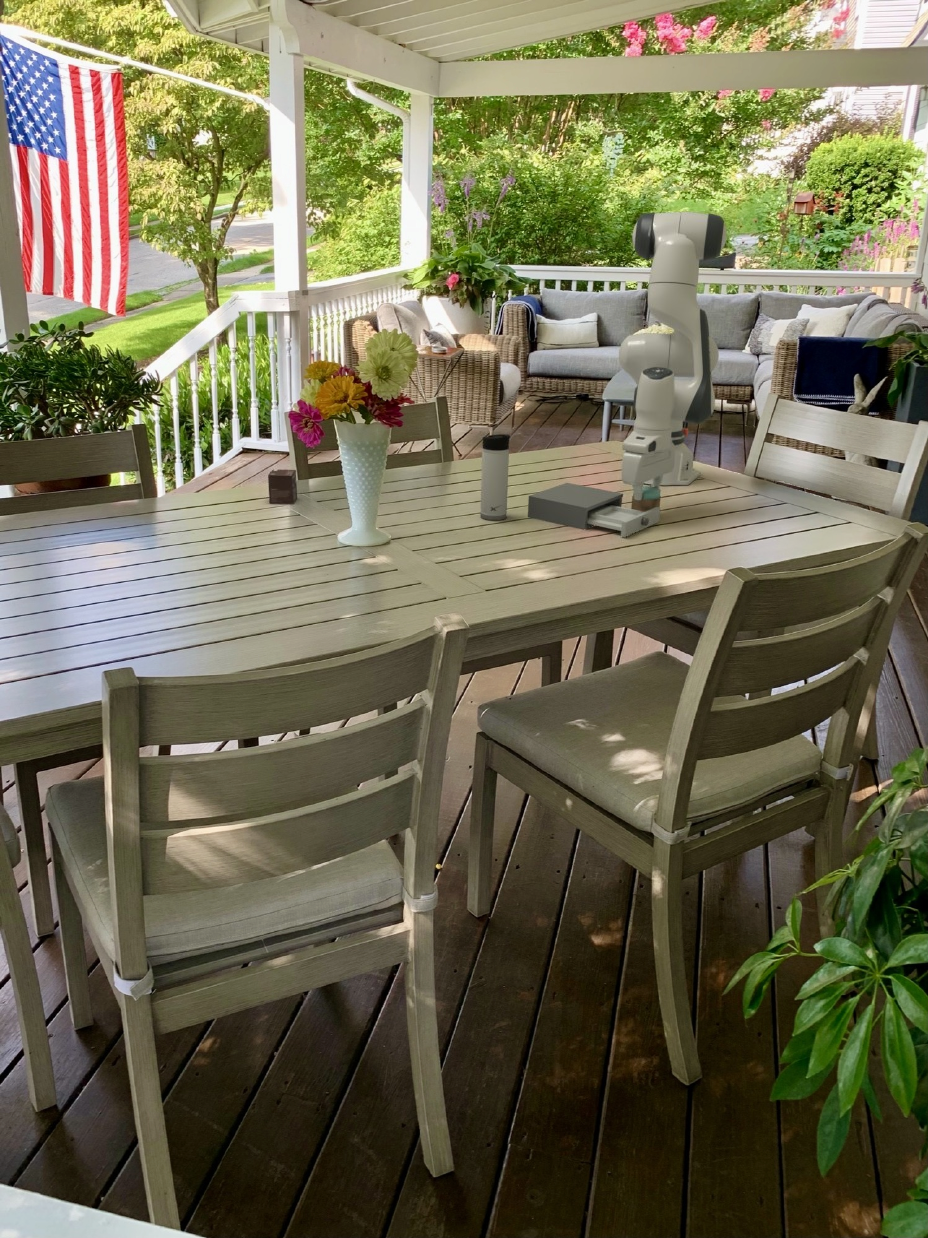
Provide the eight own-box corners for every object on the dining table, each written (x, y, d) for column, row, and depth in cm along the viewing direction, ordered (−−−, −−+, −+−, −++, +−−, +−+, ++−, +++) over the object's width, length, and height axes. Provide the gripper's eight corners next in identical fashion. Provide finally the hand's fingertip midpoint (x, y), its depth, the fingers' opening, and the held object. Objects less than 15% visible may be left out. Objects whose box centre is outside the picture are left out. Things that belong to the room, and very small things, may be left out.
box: (293, 504, 250) (292, 475, 247) (268, 504, 250) (267, 474, 247) (297, 498, 255) (296, 469, 253) (273, 497, 255) (272, 468, 253)
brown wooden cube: (640, 512, 249) (642, 492, 248) (658, 515, 247) (660, 495, 245) (630, 516, 246) (632, 496, 244) (649, 520, 243) (651, 500, 241)
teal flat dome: (641, 491, 248) (641, 484, 248) (664, 495, 245) (665, 489, 244) (628, 496, 244) (628, 489, 243) (652, 501, 240) (652, 494, 240)
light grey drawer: (601, 509, 250) (602, 495, 249) (662, 522, 241) (664, 508, 239) (565, 524, 238) (566, 509, 236) (628, 538, 228) (629, 523, 227)
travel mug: (497, 522, 239) (500, 437, 231) (475, 517, 242) (477, 433, 235) (512, 516, 243) (516, 433, 236) (490, 511, 247) (493, 429, 239)
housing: (565, 502, 256) (566, 482, 254) (621, 514, 247) (623, 493, 245) (527, 516, 243) (528, 495, 242) (585, 529, 235) (586, 507, 233)
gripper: (660, 430, 249) (655, 486, 254) (618, 443, 233) (614, 502, 239) (683, 434, 245) (678, 490, 250) (643, 447, 230) (638, 507, 235)
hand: (646, 496), depth 244 cm, fingers closed on teal flat dome, 6 cm apart
